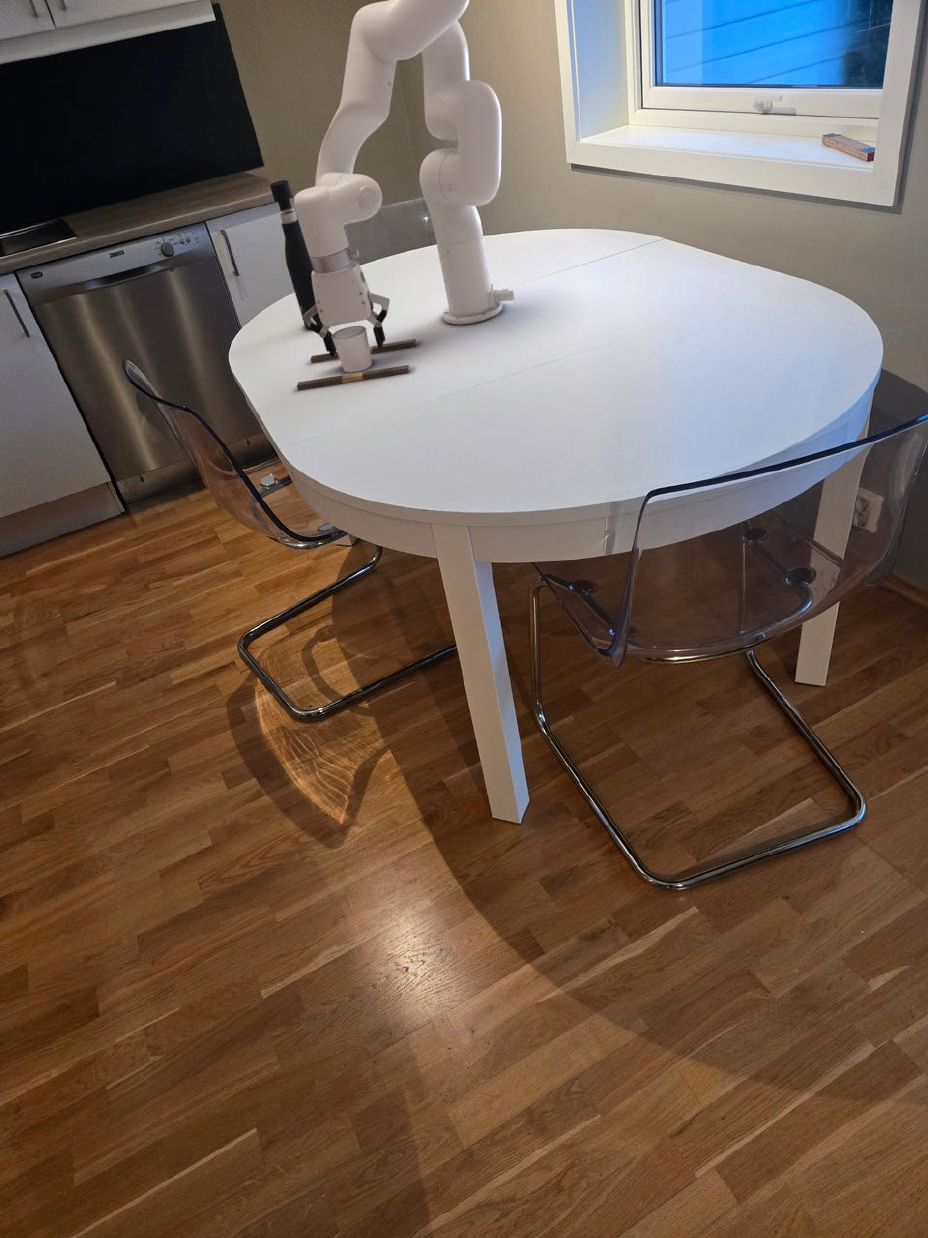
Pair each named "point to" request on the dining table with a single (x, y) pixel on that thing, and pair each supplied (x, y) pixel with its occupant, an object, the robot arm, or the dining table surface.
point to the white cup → (352, 348)
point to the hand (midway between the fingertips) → (357, 349)
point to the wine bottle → (295, 251)
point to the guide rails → (360, 375)
